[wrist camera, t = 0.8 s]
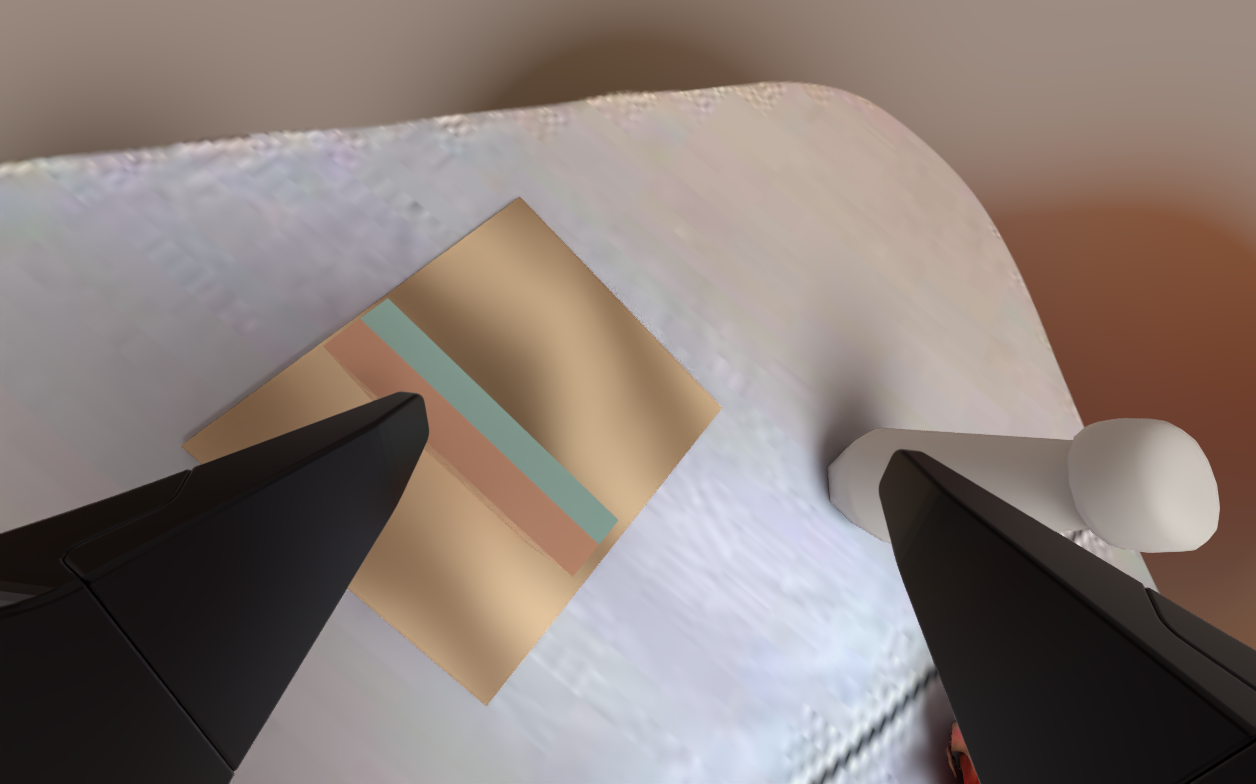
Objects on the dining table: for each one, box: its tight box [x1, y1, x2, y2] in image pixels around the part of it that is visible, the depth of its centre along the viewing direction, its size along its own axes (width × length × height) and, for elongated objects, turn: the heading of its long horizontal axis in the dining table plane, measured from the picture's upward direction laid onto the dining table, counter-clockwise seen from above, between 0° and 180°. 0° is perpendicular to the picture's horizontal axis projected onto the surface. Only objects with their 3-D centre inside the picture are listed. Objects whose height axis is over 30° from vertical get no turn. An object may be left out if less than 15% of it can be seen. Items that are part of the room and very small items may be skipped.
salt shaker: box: [828, 418, 1220, 553], centre depth 20 cm, size 6×6×13 cm
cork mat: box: [181, 197, 722, 706], centre depth 20 cm, size 16×14×1 cm
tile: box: [323, 298, 618, 577], centre depth 15 cm, size 2×8×8 cm, turn 48°
